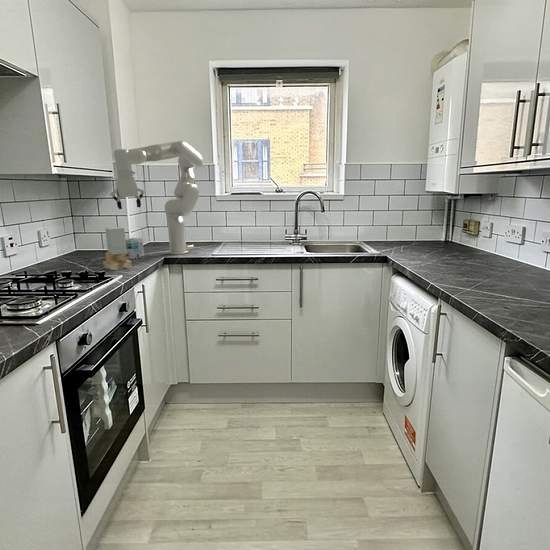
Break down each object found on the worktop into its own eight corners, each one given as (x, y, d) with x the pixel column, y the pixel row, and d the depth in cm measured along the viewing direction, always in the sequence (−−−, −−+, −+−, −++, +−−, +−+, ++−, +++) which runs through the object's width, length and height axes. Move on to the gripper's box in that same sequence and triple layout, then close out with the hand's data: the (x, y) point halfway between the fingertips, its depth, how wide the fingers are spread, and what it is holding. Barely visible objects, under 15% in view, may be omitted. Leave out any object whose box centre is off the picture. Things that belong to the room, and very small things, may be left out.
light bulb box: (134, 259, 215) (132, 240, 213) (123, 259, 217) (121, 240, 214) (144, 255, 225) (142, 237, 223) (134, 255, 227) (132, 237, 224)
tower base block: (123, 265, 201) (122, 258, 200) (132, 268, 195) (131, 260, 194) (104, 269, 194) (103, 261, 193) (113, 272, 187) (112, 264, 187)
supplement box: (127, 253, 192) (124, 227, 189) (111, 255, 187) (108, 229, 184) (122, 251, 198) (120, 226, 194) (107, 252, 193) (104, 227, 190)
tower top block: (125, 258, 199) (124, 251, 198) (126, 261, 191) (125, 253, 190) (106, 260, 195) (105, 252, 194) (107, 263, 187) (106, 255, 186)
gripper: (139, 173, 206) (143, 206, 211) (105, 175, 196) (110, 209, 200) (144, 173, 200) (148, 206, 205) (109, 175, 190) (114, 210, 195)
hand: (129, 208), depth 203 cm, fingers open, 9 cm apart
